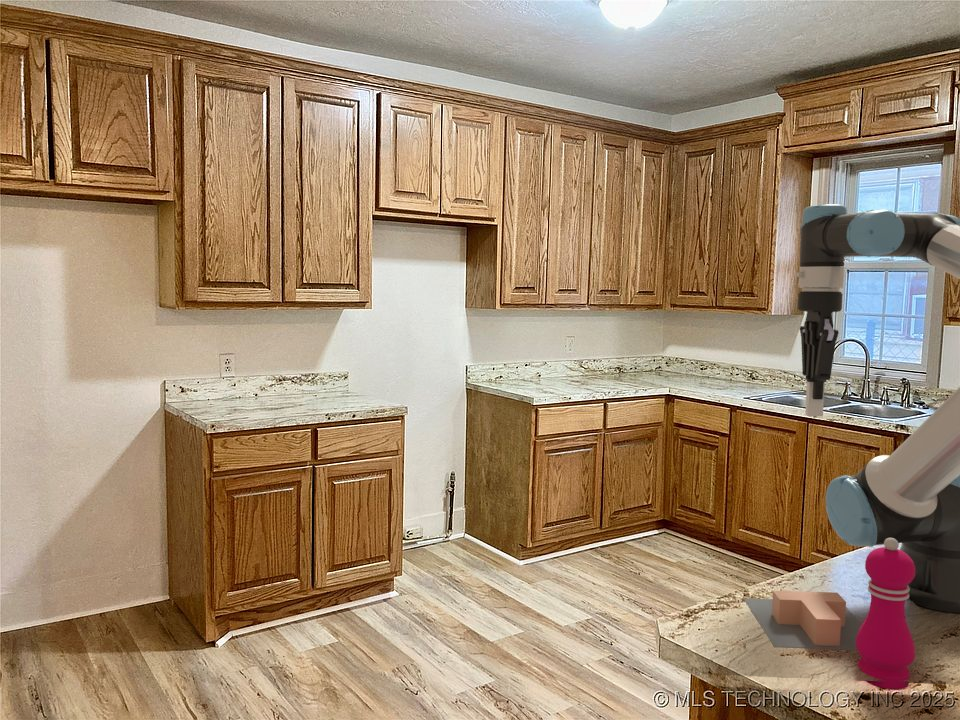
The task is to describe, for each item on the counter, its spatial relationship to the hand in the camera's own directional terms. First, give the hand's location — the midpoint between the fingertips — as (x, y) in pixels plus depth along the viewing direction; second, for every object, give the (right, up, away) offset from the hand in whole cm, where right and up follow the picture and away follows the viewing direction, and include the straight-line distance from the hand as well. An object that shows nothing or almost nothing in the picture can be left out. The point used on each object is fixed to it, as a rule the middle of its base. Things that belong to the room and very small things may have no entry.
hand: (814, 415), depth 142 cm
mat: (-11, -32, -23) cm, 41 cm away
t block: (-11, -31, -26) cm, 42 cm away
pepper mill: (-7, -34, -38) cm, 51 cm away
